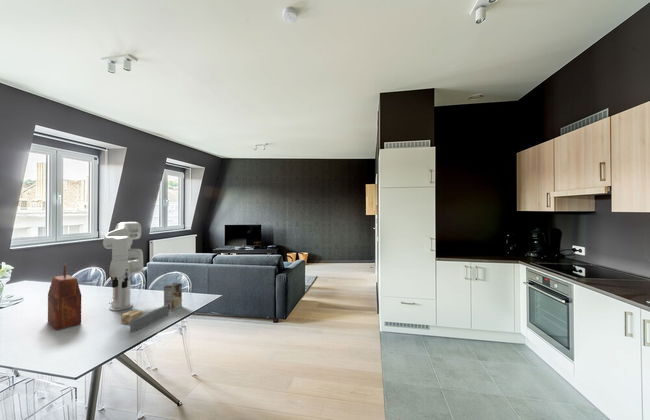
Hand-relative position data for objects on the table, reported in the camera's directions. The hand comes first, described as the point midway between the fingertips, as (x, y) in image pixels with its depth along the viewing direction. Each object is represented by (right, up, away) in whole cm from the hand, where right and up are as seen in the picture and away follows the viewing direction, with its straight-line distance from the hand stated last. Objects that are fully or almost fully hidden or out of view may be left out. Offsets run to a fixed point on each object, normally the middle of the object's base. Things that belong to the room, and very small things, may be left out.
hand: (119, 287), depth 157 cm
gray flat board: (+21, -20, -4) cm, 29 cm away
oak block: (+9, -20, -2) cm, 22 cm away
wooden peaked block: (-28, -19, -6) cm, 34 cm away
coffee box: (+22, -20, +18) cm, 35 cm away
